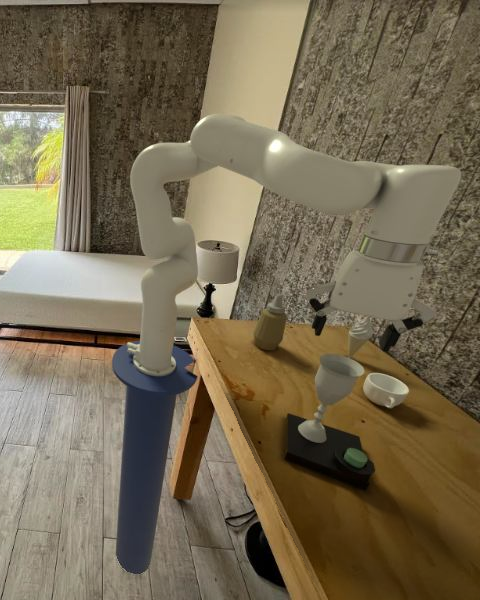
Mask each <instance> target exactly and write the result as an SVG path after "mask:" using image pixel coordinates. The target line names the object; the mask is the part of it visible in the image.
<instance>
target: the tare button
mask: <svg viewBox="0 0 480 600" xmlns="http://www.w3.org/2000/svg"><path fill="white" fill-rule="evenodd" d="M366 456H367V455H366V454H365V453H364V451H363V452H361V451H359V450H357V449H354V448H349V449H347V451H346V453H345V455H344V459H345V460H346V462H348V463H349V464H351V465H352V466H354V467H357V468H363V467H364V465H365V464H366V462H367V457H368V456H367V457H366Z"/></svg>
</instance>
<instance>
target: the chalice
mask: <svg viewBox="0 0 480 600" xmlns="http://www.w3.org/2000/svg"><path fill="white" fill-rule="evenodd" d="M318 359H319V363H320V364H319V367H318V369H317V372H316V375H315V377H314V388H315V392H316V397H317V400H318V401H319V402H320V403H321V404H320V405H318V406H317V412H314V417H315V418H314V419H308V420H306V421H305V422H303V423H302V424H300V425H299V427H298V430H299V432H300V433H301V434H302V435H303V436H304V437H305V438H307V439H308V440H310V441H313V442H317V443H322V442H325V441H326V439H327V438H326V433H325V428H324V427H323V425H324V424H323V425H322V423H321V420H324V419H325V415H324V414H325V413H327V412H328V410H327V407H328V406H334V405H335V404H338V403H339V402H341V401H342V400H344V399H345V398H346V397H348V396H349V395H351V393H352V391H353V389H354V388H355V385H356V383H357V381H358V378H359V377H361V376H363V375H364V374H365V368H364V367H363V365H361V364H360V363H359V362H357V361H356V360H355V359H352V358H348V356H345V355H342V354H336V353H325V354H322V355H320V356H319V358H318Z"/></svg>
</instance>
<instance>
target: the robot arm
mask: <svg viewBox="0 0 480 600" xmlns="http://www.w3.org/2000/svg"><path fill="white" fill-rule="evenodd" d="M217 167H219V168H223V169H226V170H228V171H230V172H233V173H235V174H238V175H240V176H243V177H246V178H248V179H250V180H252V181H254V182H256V183H257V184H258V185H260V186H262V187H264V188H266V189H268V190H269V191H271V192H273V193H274V194H277V195H278V196H280V197H282V198H284V199H287V200H288V201H291V202H293V203H296V204H299V205H301V206H303V207H305V208H308V209H311V210H314V211H316V212H319V213H322V214H326V215H330V216H345V215H349V214H353V213H355V212H357V211H359V210H361V209H372V210H373V211H372V213H371V215H370V219H369V220H368V223H367V225H366V227H365V230H364V233H363V236H362V238H361V240H360V243H359V245H358V248H357V250H351V251H349V253H348V254H347V255H346V257H345V259H344V260H343V262H342V264H341V265H340V268H339V269H338V271H337V272H336V275H335V277H334V279H333V281H332V282H327V283H323V284H317V285H312V286H307V287H306V289H305V290H306V291H305V292H306V296H307V299H308V303H309V305H310V306H311V308H312V309H313V310H314V312H315V316H314V318H313V321H312V323H311V329H312V330H314V336H315V337H320V336H321V335H322V332H323V330H324V327H325V325H326V322H327V320H328V317H327V315H329V314H330V313H333V312H335V311H340V312H345V313H350V314H353V315H354V314H355V315H359V316H363V317H366V316H369V318H374V319H378V320H379V319H380V320H384V321H390V322H391V323H389V324H387V325H386V327H385V329H384V331H383V333H382V335H381V337H380V339H379V341H378V344H379V347H380V349H381V351H382V352H384V353H389V351H390V349H391V348H395V347H396V344H397V343H398V341H399V339H400V337H401V335H402V334H406V333H408V331H410V330H414V329H417V328H419V327H422V326H423V325H424V324H425V323H427V322H429V321H430V320H432V319H434V318H435V317H437V316H438V312H437V311H436V310H435V309H434V308H433V307H432V306H430V305H428V304H427V303H425V302H423V301H421V300H420V299H419V298H417V297H415V296H416V294H417V292H418V288H419V285H420V282H421V278H422V276H423V270H424V262H423V259H424V258H425V257H431V256H432V257H436V256H437V255H438V253H439V250H440V249H439V248H440V247H438V246H433V245H431V243H430V242H431V240H432V237H433V235H434V234H435V231H436V230H437V228H438V225H439V224H440V221H441V219H442V217H443V216H444V213H445V211H446V209H447V208H448V205H449V204H450V202H451V200H452V198H453V196H454V195H455V192H456V190H457V188H458V186H459V184H460V182H461V179H462V171H461V169H459V168H458V167H455V166H451V165H442V164H441V165H440V164H402V165H399V164H398V165H397V164H389V163H381V162H375V161H370V160H369V161H367V160H356V161H350V160H345V159H343V158H338V157H335V156H332V155H328V154H326V153H323V152H320V151H316V150H315V149H314V150H313V149H310V148H307V147H305V146H303V145H301V144H298V143H297V142H295V141H293V140H292V139H291V137H289V136H288V134H286V133H285V132H282V131H280V130H276V129H273V128H269V127H266V126H262V125H259V124H255V123H252V122H249V121H246V120H245V119H244V118H242V117H241V116H237V115H232V114H223V113H213V114H209V115H206V116H205V117H203V118H201V119H199V121H198V122H197V123H196V124H195V126H193V129H192V131H191V133H190V139H189V140H188V141H186V142H159V143H155V144H152V145H149V146H147V147H146V148H144V149H143V150H142V151H141V152H140V153H139V154H138V155H137V157H136V158H135V159H134V161H133V164H132V166H131V170H130V177H129V178H130V179H129V180H130V181H129V183H130V188H131V193H132V197H133V202H134V206H135V210H136V211H135V212H136V220H137V227H138V233H139V240H140V246H141V250H142V253H143V255H144V256H145V257H146V258H148V259H150V260H160V259H165V261H161V262H159V263H157V264H155V265H153V266H151V267H149V268H148V269H146V271H145V272H144V273H143V275H142V277H141V281H140V291H141V297H142V306H141V307H142V308H141V325H140V336H139V337H140V338H139V341H140V344H138V345H136V344H133V343H131V342H130V341H128V342H127V343H126V344H127V348H128V351H127V352H129V353H133V354H134V357H133V363H134V366H135V367H136V368H137V369H138V370H139V371H141V372H142V373H144V374H147V375H151V376H166V375H169V374H171V373H172V372H173V371H174V370H175V367H176V361H175V359H174V358H173V357H172V350H173V345H174V342H175V334H176V327H177V319H178V307H177V302H176V297H177V295H179V294H181V293H182V292H184V291H187V290H188V289H189V288H191V287H192V286H193V285H195V283H196V281H197V279H198V275H199V266H198V255H197V246H196V238H195V232H194V230H193V227H192V225H191V224H190V223H189V222H188V221H187V220H186V219H184V218H182V217H178V216H176V217H175V216H173V213H172V206H171V199H170V196H169V195H168V193H167V191H166V190H165V187H164V185H165V184H167V183H172V182H173V183H174V182H181V181H182V182H183V181H186V180H191V179H194V178H195V177H197V176H200V175H201V174H204V173H206V172H208V171H211V170H212V169H215V168H217ZM325 293H327V300H325V301H323V302H320V301H319V299H318V297H317V296H318V295H319V294H320V295H321V294H325ZM411 308H412V309H414V310H416V311H417V312H418V313H417V314H416V315H413V316H410V317H407V318H405V317H406V316H407V314H408V312H409V310H410V309H411Z"/></svg>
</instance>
